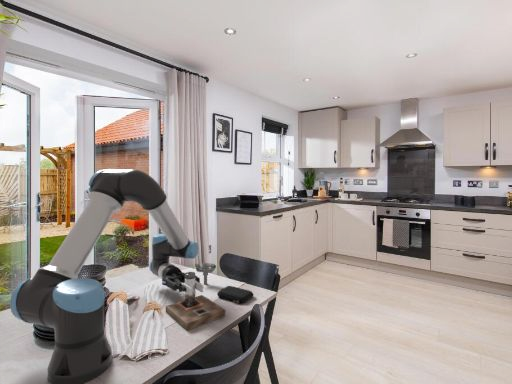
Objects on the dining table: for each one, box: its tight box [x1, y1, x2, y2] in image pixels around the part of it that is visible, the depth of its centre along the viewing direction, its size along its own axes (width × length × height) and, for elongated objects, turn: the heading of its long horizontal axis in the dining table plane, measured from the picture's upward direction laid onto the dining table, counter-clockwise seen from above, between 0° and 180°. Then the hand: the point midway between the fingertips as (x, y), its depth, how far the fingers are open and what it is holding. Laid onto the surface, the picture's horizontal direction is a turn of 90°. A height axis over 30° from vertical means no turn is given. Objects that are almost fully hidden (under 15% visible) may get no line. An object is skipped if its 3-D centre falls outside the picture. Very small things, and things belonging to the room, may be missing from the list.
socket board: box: [165, 294, 226, 331], centre depth 110 cm, size 16×17×3 cm
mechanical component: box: [194, 262, 217, 286], centre depth 140 cm, size 3×10×10 cm, turn 78°
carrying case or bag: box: [216, 285, 254, 304], centre depth 125 cm, size 11×3×15 cm
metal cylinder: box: [184, 271, 196, 307], centre depth 112 cm, size 4×4×12 cm
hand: (197, 290), depth 108 cm, fingers closed on metal cylinder, 4 cm apart
